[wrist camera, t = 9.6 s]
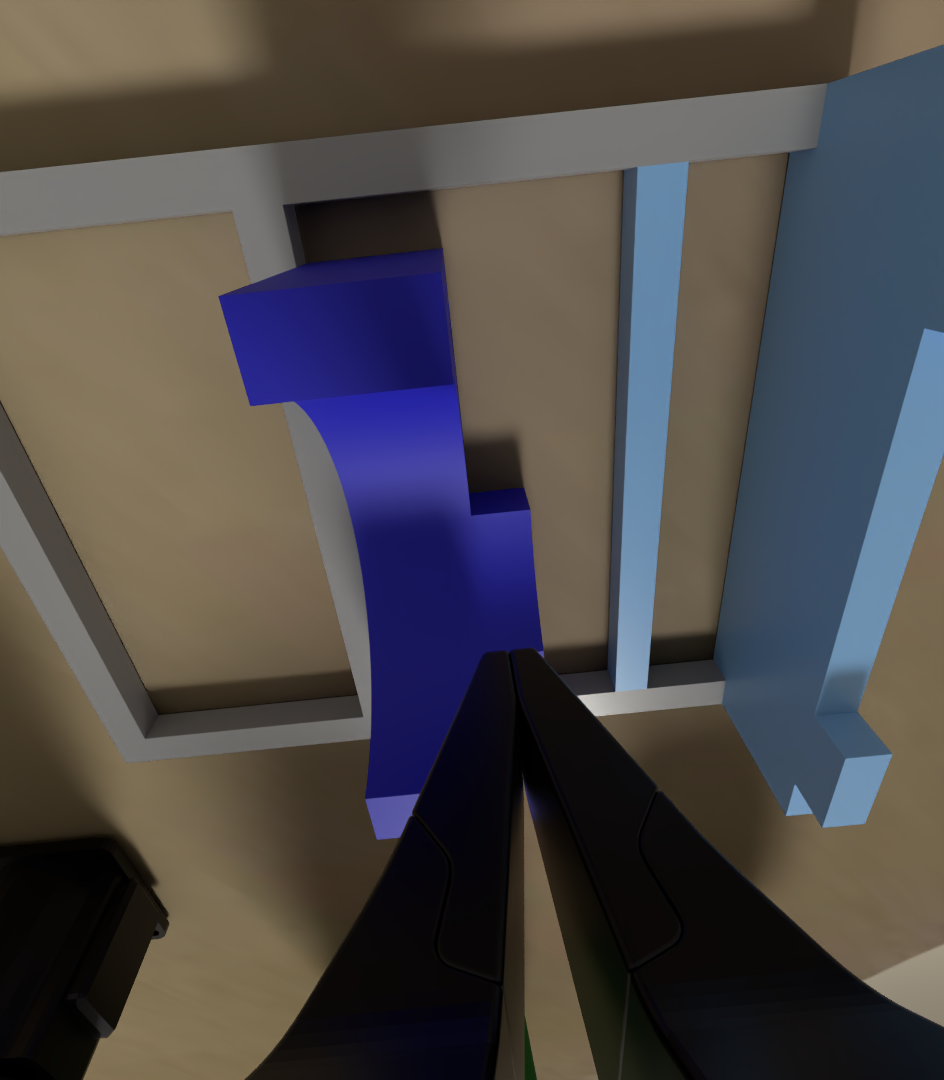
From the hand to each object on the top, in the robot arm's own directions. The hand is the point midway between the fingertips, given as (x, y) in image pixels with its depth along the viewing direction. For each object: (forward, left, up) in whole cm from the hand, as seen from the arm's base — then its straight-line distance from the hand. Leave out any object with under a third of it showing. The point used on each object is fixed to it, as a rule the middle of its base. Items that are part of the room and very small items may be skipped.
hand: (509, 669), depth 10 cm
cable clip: (-1, 0, -8) cm, 8 cm away
